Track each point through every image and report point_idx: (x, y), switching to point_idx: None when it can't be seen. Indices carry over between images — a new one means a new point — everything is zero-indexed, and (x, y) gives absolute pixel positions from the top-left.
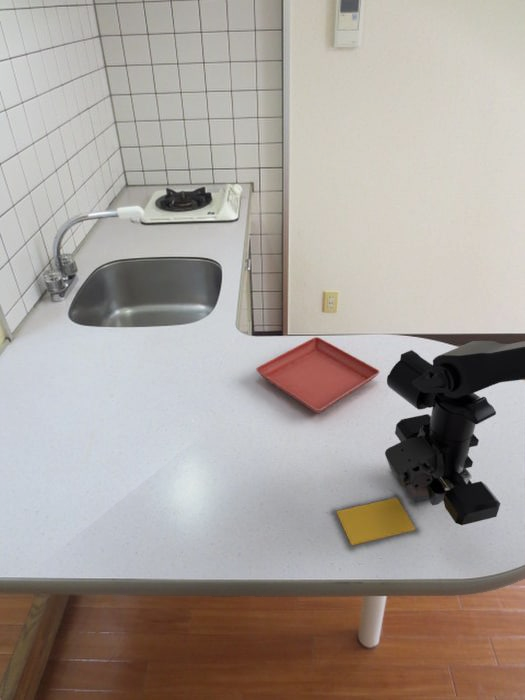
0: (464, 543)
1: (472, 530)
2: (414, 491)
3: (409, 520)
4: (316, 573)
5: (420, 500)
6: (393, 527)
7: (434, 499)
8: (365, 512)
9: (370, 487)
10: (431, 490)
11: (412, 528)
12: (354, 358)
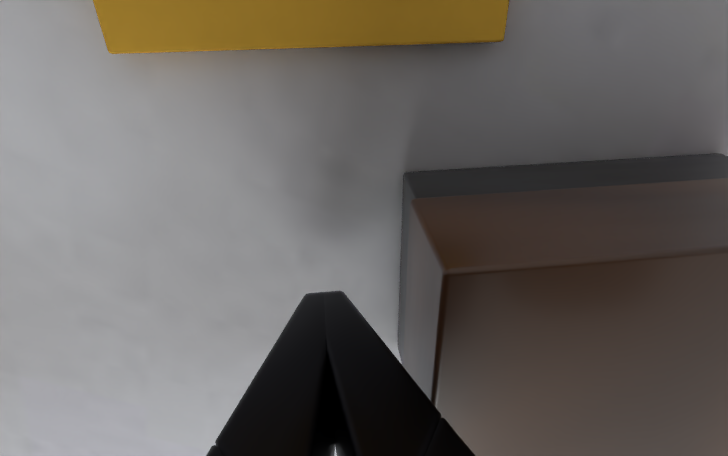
0: (14, 343)
1: (125, 405)
2: (459, 222)
3: (210, 37)
4: None
5: (404, 223)
6: None
7: (252, 382)
8: None
9: None
10: (342, 422)
11: (109, 24)
12: None
